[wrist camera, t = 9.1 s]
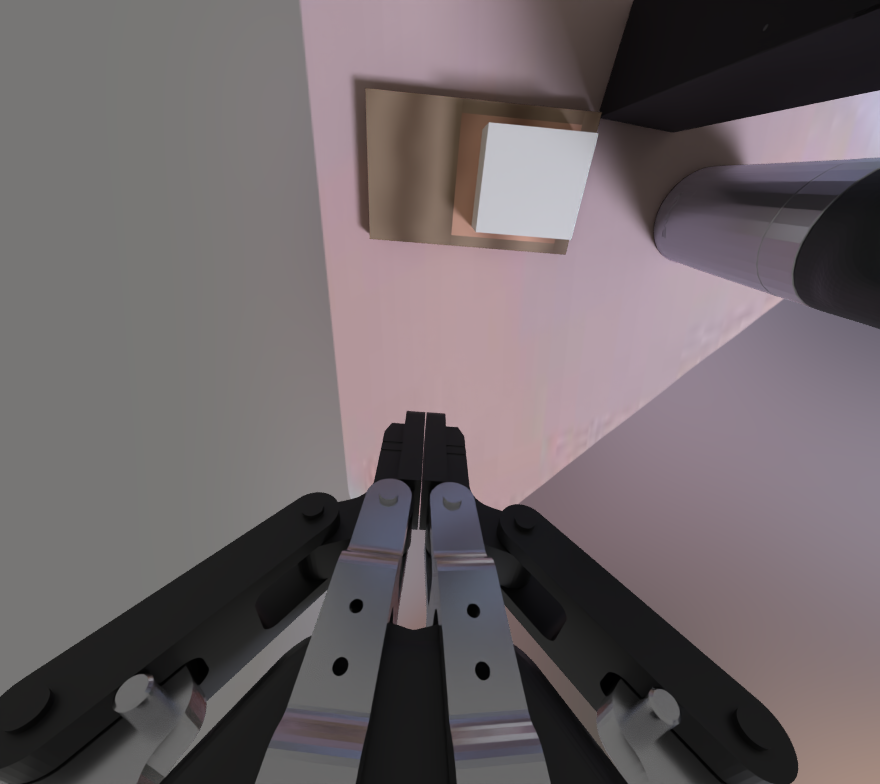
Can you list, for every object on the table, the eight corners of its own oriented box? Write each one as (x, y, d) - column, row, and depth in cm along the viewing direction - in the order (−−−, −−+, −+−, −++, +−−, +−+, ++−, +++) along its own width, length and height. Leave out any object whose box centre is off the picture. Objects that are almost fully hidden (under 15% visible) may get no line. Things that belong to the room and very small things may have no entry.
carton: (578, 139, 31) (598, 133, 27) (556, 233, 35) (571, 240, 32) (482, 129, 31) (488, 122, 27) (471, 226, 35) (475, 232, 31)
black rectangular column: (595, 118, 32) (1052, -61, 8) (632, -2, 28) (1737, -1029, 4) (672, 133, 33) (1298, 8, 9) (719, 18, 29) (2094, -768, 5)
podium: (593, 116, 32) (601, 112, 30) (559, 251, 38) (565, 254, 37) (369, 93, 31) (365, 88, 29) (372, 236, 37) (369, 238, 36)
